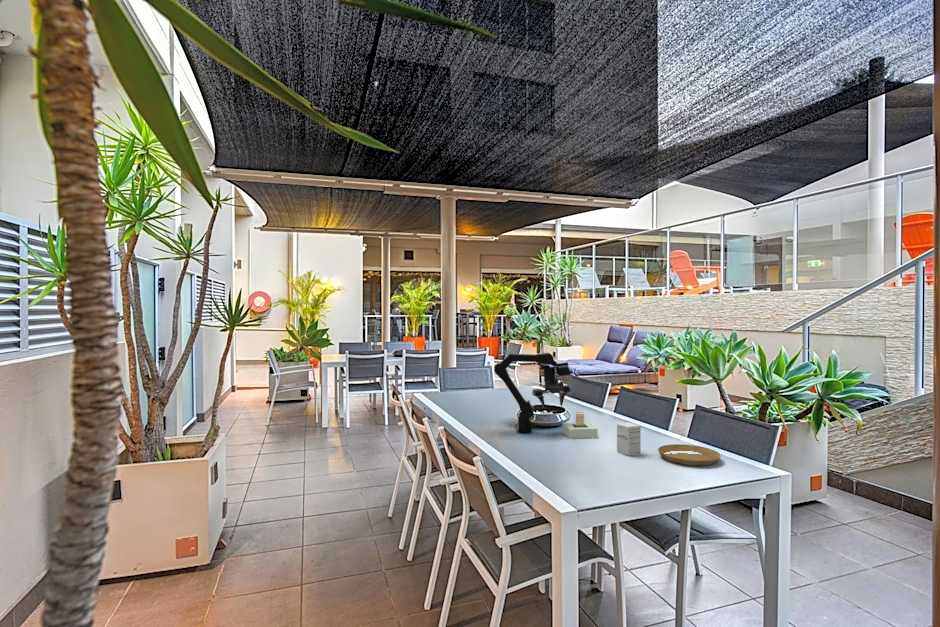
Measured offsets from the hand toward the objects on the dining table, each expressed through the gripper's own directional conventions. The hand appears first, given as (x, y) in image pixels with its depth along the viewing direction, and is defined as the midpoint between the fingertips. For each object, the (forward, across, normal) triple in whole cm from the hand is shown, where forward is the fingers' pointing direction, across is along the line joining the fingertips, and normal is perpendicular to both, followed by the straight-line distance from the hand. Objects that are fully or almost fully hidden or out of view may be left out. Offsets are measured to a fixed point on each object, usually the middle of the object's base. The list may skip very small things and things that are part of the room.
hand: (552, 407), depth 251 cm
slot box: (+14, +10, -7) cm, 19 cm away
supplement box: (+16, +19, -40) cm, 47 cm away
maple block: (+14, +10, -7) cm, 19 cm away
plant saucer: (+19, +40, -52) cm, 69 cm away
